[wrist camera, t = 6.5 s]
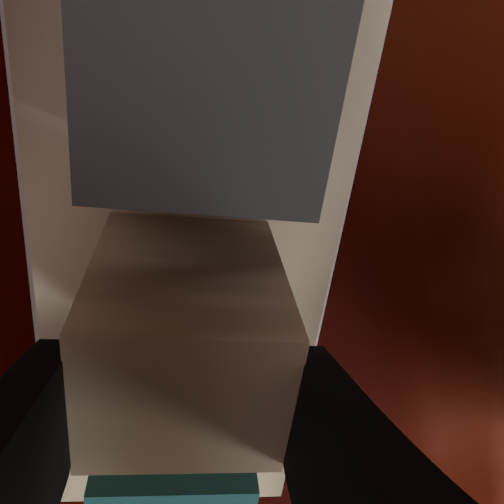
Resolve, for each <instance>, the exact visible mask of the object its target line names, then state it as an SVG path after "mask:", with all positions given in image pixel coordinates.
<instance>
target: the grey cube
mask: <svg viewBox="0 0 504 504" xmlns="http://www.w3.org/2000/svg"><path fill="white" fill-rule="evenodd" d="M364 1H365V0H61V12H62V31H63V49H64V67H65V86H66V104H67V122H68V141H69V159H70V177H71V196H72V206H80V207H94V208H108V209H123V210H137V211H151V212H165V213H179V214H193V215H207V216H222V217H236V218H250V219H264V220H278V221H292V222H307V223H319V221H320V216H321V211H322V206H323V201H324V196H325V191H326V186H327V182H328V177H329V172H330V167H331V162H332V157H333V152H334V147H335V143H336V138H337V133H338V128H339V123H340V118H341V113H342V108H343V103H344V99H345V94H346V89H347V84H348V79H349V74H350V69H351V64H352V59H353V55H354V50H355V45H356V40H357V35H358V30H359V25H360V20H361V15H362V11H363V6H364Z"/></svg>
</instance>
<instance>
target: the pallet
mask: <svg viewBox="0 0 504 504" xmlns="http://www.w3.org/2000/svg"><path fill="white" fill-rule="evenodd" d="M391 4H392V0H365V1H364V6H363V11H362V15H361V20H360V25H359V30H358V35H357V40H356V45H355V50H354V55H353V59H352V64H351V69H350V74H349V79H348V84H347V89H346V94H345V99H344V103H343V108H342V113H341V118H340V123H339V128H338V133H337V138H336V143H335V147H334V152H333V157H332V162H331V167H330V172H329V177H328V182H327V186H326V191H325V196H324V201H323V206H322V211H321V216H320V221H319V223H307V222H292V221H278V220H264V219H250V218H236V217H222V216H207V215H193V214H179V213H165V212H151V211H137V210H123V209H108V208H94V207H80V206H72V196H71V177H70V159H69V141H68V122H67V104H66V86H65V67H64V49H63V31H62V12H61V0H3V7H4V17H5V26H6V35H7V44H8V54H9V63H10V72H11V81H12V91H13V100H14V109H15V118H16V128H17V137H18V146H19V155H20V165H21V174H22V183H23V192H24V202H25V211H26V220H27V229H28V239H29V248H30V257H31V266H32V276H33V285H34V294H35V303H36V313H37V322H38V331H39V339H59V343H60V355H61V361H62V364H63V376H64V388H65V400H66V412H67V425H68V437H69V449H70V461H71V469H70V473H69V477H68V480H67V484H66V487H65V490H64V493H63V496H62V499H61V502H71V501H84V493H85V489H86V484H87V480H88V476H89V475H147V474H205V473H257V477H258V485H259V492H260V495H259V497H269V496H281V493H282V489H283V485H284V480H285V473H284V467H283V461H284V457H285V452H286V448H287V443H288V438H289V434H290V429H291V425H292V420H293V415H294V411H295V406H296V402H297V397H298V392H299V388H300V383H301V379H302V374H303V369H304V365H305V364H306V360H307V355H308V351H309V346H315V342H316V338H317V333H318V329H319V324H320V320H321V315H322V311H323V306H324V302H325V298H326V293H327V289H328V284H329V280H330V275H331V271H332V266H333V262H334V257H335V253H336V249H337V244H338V240H339V235H340V231H341V226H342V222H343V217H344V213H345V208H346V204H347V200H348V195H349V191H350V186H351V182H352V177H353V173H354V168H355V164H356V160H357V155H358V151H359V146H360V142H361V137H362V133H363V128H364V124H365V119H366V115H367V111H368V106H369V102H370V97H371V93H372V88H373V84H374V79H375V75H376V70H377V66H378V62H379V57H380V53H381V48H382V44H383V39H384V35H385V30H386V26H387V21H388V17H389V13H390V8H391Z"/></svg>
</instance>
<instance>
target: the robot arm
mask: <svg viewBox="0 0 504 504" xmlns="http://www.w3.org/2000/svg"><path fill="white" fill-rule="evenodd" d="M283 467H284V473H285V478H286V482H287V486H288V491H289V495H290V499H291V503H292V504H478V503H477V502H476V501H475V500H474V499H472V498H471V497H470V496H469V495H468V494H467V493H465V492H464V491H463V490H462V489H461V488H460V487H459V486H458V485H456V484H455V483H454V482H453V481H452V480H451V479H450V478H449V477H448V476H446V475H445V474H444V473H443V472H442V471H441V470H440V469H439V468H438V467H437V466H436V465H435V464H434V463H433V462H432V461H431V460H430V459H429V458H427V457H426V456H425V455H424V454H423V453H422V452H421V451H420V450H419V449H418V448H417V447H416V446H415V445H414V444H413V443H412V442H411V441H410V440H409V439H408V438H407V437H406V436H405V435H404V434H403V433H402V432H401V431H400V430H399V429H398V428H397V427H396V426H395V425H394V424H393V423H392V422H391V421H390V420H389V419H388V418H387V416H386V415H385V414H384V413H383V412H382V411H381V410H380V409H379V408H378V407H377V406H376V405H375V404H374V403H373V401H372V400H371V399H370V398H369V397H368V396H367V395H366V394H365V393H364V392H363V390H362V389H361V388H360V387H359V386H358V385H357V384H356V383H355V382H354V380H353V379H352V378H351V377H350V376H349V375H348V374H347V372H346V371H345V370H344V369H343V368H342V367H341V366H340V365H339V363H338V362H337V361H336V360H335V359H334V358H333V357H332V355H331V354H330V353H329V352H328V351H327V350H326V349H325V348H324V347H323V346H309V351H308V355H307V360H306V364H305V365H304V369H303V374H302V379H301V383H300V388H299V392H298V397H297V402H296V406H295V411H294V415H293V420H292V425H291V429H290V434H289V438H288V443H287V448H286V452H285V457H284V461H283ZM70 469H71V461H70V449H69V437H68V425H67V412H66V400H65V388H64V376H63V364H62V361H61V355H60V343H59V339H39V340H38V341H37V342H36V343H34V344H33V345H32V346H31V347H30V348H29V349H28V350H27V351H26V352H25V353H24V354H23V355H22V356H21V357H20V358H19V359H18V360H17V361H16V362H15V363H14V364H13V365H12V366H11V367H10V368H9V369H8V370H7V371H6V372H5V373H4V374H3V375H2V376H1V377H0V504H60V502H61V499H62V496H63V493H64V490H65V487H66V484H67V480H68V477H69V473H70Z"/></svg>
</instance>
